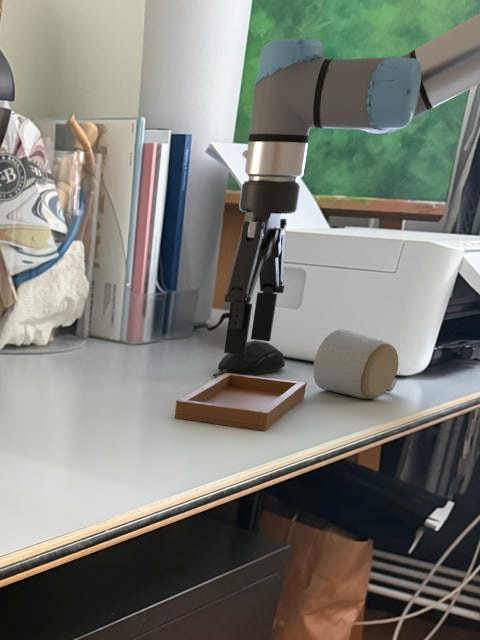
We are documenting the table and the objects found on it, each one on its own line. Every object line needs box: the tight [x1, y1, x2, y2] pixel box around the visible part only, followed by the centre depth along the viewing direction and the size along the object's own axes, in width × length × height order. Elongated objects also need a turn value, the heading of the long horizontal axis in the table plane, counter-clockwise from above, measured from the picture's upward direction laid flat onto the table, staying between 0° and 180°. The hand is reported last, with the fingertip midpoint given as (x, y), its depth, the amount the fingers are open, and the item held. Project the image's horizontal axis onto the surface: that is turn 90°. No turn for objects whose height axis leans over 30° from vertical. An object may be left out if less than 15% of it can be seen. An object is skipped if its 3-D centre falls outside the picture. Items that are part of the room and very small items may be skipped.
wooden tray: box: [174, 373, 307, 432], centre depth 113 cm, size 10×20×2 cm, turn 151°
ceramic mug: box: [312, 328, 399, 400], centre depth 120 cm, size 11×8×8 cm
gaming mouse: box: [212, 340, 286, 378], centre depth 133 cm, size 6×15×4 cm, turn 132°
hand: (247, 346), depth 132 cm, fingers open, 13 cm apart
